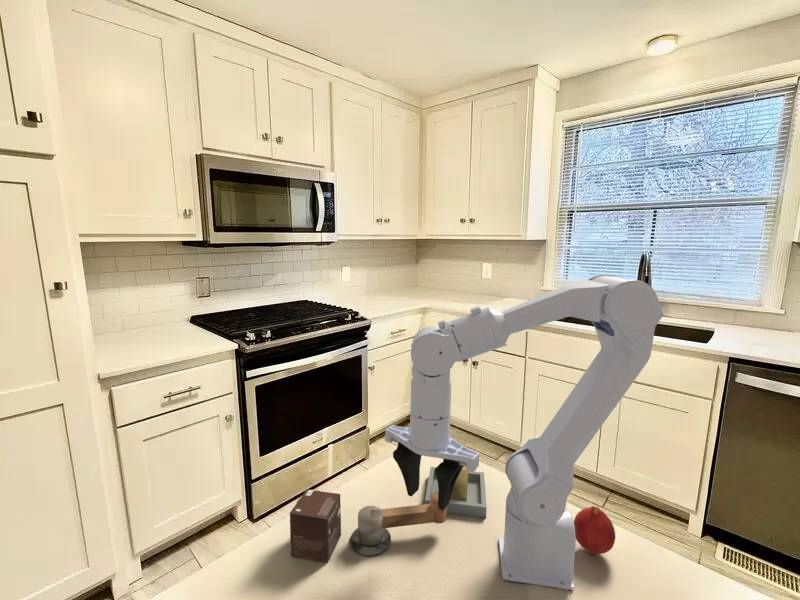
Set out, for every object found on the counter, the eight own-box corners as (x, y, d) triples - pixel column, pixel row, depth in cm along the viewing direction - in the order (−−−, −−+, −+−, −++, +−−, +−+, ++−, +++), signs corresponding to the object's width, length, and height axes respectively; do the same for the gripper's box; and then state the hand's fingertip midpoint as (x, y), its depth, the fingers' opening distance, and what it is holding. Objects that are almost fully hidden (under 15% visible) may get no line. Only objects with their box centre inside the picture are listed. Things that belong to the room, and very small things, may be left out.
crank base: (394, 529, 65) (394, 526, 65) (386, 559, 59) (386, 556, 59) (356, 524, 66) (356, 521, 66) (345, 553, 60) (345, 550, 60)
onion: (576, 533, 65) (579, 488, 63) (615, 549, 61) (620, 502, 60) (567, 555, 60) (571, 507, 59) (609, 574, 57) (614, 524, 55)
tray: (483, 481, 78) (483, 472, 78) (486, 517, 68) (486, 507, 68) (430, 475, 80) (430, 466, 80) (424, 510, 70) (425, 500, 69)
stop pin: (467, 487, 75) (468, 458, 75) (466, 500, 72) (468, 470, 71) (446, 485, 76) (447, 456, 75) (444, 498, 72) (445, 467, 71)
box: (327, 564, 58) (327, 519, 57) (289, 557, 59) (288, 513, 58) (341, 535, 64) (341, 493, 63) (307, 529, 65) (306, 488, 64)
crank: (359, 547, 60) (359, 516, 59) (357, 528, 64) (357, 499, 63) (449, 535, 63) (450, 505, 62) (442, 518, 66) (442, 490, 66)
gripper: (489, 414, 55) (485, 502, 57) (403, 391, 63) (402, 470, 65) (468, 434, 50) (464, 531, 52) (376, 406, 58) (376, 491, 60)
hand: (428, 498), depth 58 cm, fingers open, 5 cm apart
